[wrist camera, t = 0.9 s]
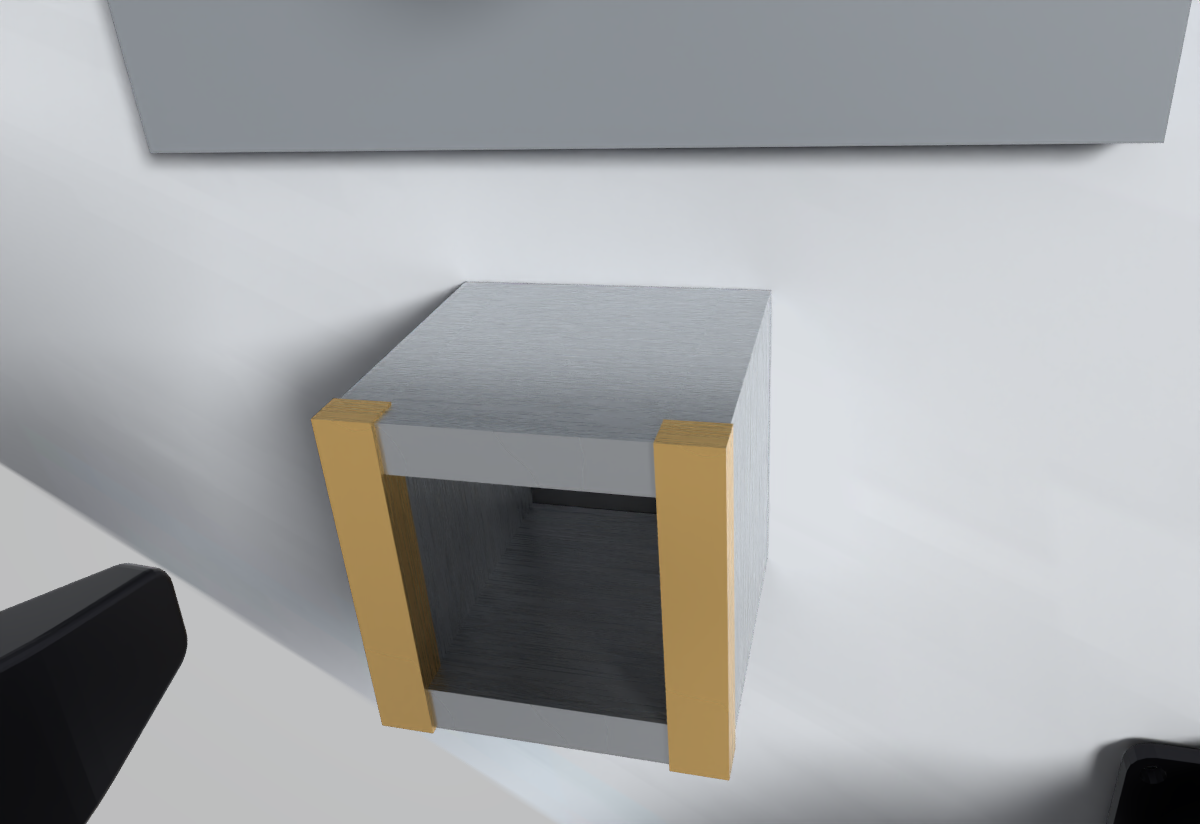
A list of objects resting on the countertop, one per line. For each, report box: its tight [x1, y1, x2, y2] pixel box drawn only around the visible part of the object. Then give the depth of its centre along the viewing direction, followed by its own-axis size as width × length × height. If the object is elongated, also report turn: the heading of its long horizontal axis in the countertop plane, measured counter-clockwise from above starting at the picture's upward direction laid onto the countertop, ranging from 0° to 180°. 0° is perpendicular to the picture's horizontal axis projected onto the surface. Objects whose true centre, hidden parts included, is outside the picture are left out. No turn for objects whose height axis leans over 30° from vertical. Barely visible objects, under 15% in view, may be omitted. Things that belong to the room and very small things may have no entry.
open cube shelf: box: [311, 282, 771, 780], centre depth 18 cm, size 6×6×6 cm
